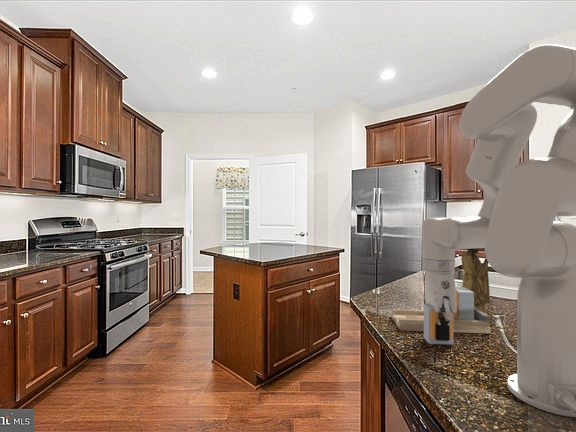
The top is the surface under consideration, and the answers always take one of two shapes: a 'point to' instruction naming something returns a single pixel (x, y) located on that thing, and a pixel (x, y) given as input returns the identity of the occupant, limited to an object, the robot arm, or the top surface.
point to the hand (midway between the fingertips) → (438, 335)
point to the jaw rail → (420, 323)
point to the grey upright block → (430, 326)
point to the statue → (476, 278)
